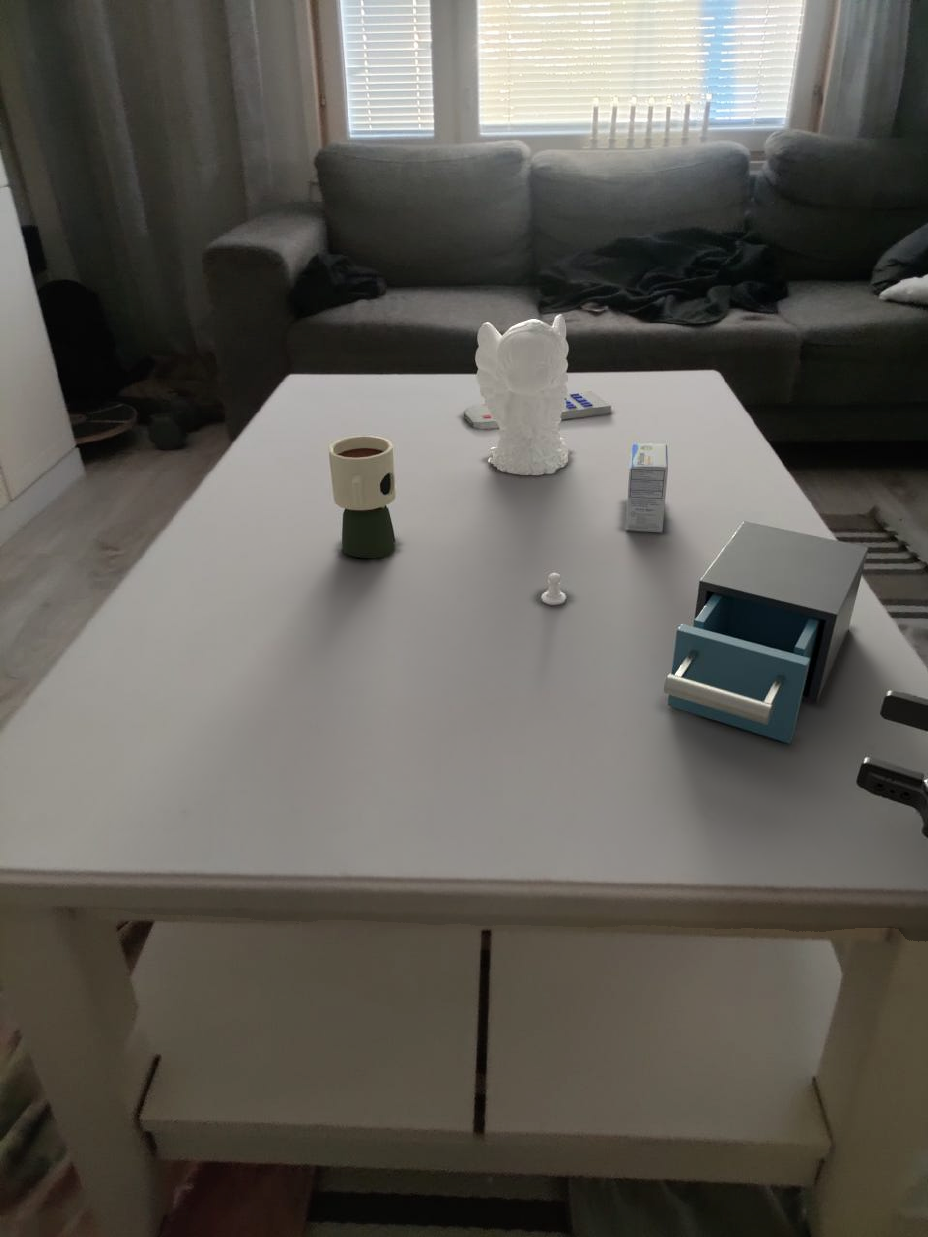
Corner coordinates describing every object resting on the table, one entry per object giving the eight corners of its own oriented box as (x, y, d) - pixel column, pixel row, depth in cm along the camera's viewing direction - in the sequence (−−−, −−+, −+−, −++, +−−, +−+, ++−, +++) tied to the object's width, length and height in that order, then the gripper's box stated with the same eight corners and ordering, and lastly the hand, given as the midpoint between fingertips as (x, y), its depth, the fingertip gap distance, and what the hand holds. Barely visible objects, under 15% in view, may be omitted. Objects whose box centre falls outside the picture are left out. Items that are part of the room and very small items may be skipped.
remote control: (610, 417, 142) (611, 404, 140) (475, 433, 136) (475, 419, 135) (590, 402, 148) (591, 389, 147) (461, 417, 143) (461, 403, 142)
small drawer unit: (815, 707, 77) (837, 614, 72) (687, 670, 83) (699, 580, 78) (847, 633, 87) (868, 547, 82) (730, 604, 92) (744, 520, 87)
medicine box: (662, 536, 106) (669, 468, 101) (624, 534, 106) (629, 466, 102) (661, 508, 112) (668, 443, 108) (625, 506, 113) (631, 441, 108)
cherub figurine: (479, 480, 121) (476, 331, 111) (476, 446, 132) (474, 307, 121) (574, 477, 121) (581, 328, 111) (564, 444, 132) (570, 305, 121)
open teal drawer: (770, 787, 68) (788, 706, 64) (642, 743, 73) (650, 665, 68) (823, 666, 81) (841, 593, 77) (712, 636, 86) (723, 565, 82)
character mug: (394, 574, 99) (387, 465, 92) (331, 574, 100) (319, 466, 93) (404, 530, 109) (397, 429, 102) (346, 530, 109) (336, 429, 102)
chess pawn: (549, 611, 92) (550, 582, 90) (536, 600, 94) (537, 571, 92) (570, 605, 93) (571, 576, 91) (557, 594, 95) (558, 566, 93)
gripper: (1166, 709, 58) (901, 642, 66) (1178, 851, 48) (862, 752, 55) (1123, 794, 62) (878, 721, 70) (1126, 941, 52) (838, 838, 59)
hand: (871, 735), depth 62 cm, fingers open, 8 cm apart
